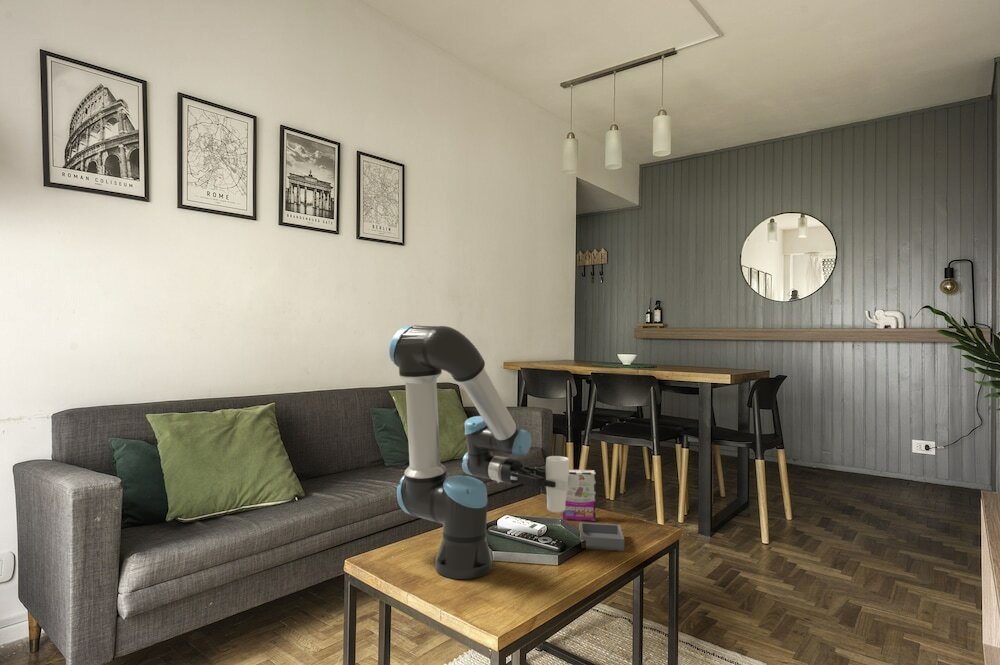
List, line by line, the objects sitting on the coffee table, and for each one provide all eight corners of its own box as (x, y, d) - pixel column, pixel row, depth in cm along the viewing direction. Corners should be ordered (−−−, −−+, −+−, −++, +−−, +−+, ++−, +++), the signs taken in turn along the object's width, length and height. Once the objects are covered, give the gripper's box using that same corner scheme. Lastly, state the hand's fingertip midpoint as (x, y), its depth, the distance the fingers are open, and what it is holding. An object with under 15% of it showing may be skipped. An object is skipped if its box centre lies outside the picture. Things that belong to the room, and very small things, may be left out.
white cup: (567, 507, 165) (569, 456, 165) (568, 514, 158) (569, 461, 158) (544, 505, 165) (546, 455, 166) (544, 513, 159) (545, 460, 159)
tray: (580, 548, 165) (580, 536, 165) (579, 533, 177) (579, 522, 177) (624, 551, 163) (624, 539, 163) (619, 535, 176) (619, 524, 176)
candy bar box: (594, 517, 194) (595, 469, 194) (595, 521, 189) (596, 473, 189) (562, 515, 195) (563, 468, 195) (562, 520, 190) (563, 471, 190)
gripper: (523, 476, 180) (587, 490, 167) (487, 488, 165) (555, 504, 151) (524, 453, 180) (588, 465, 167) (488, 463, 165) (555, 476, 151)
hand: (572, 483), depth 159 cm, fingers closed on white cup, 6 cm apart
